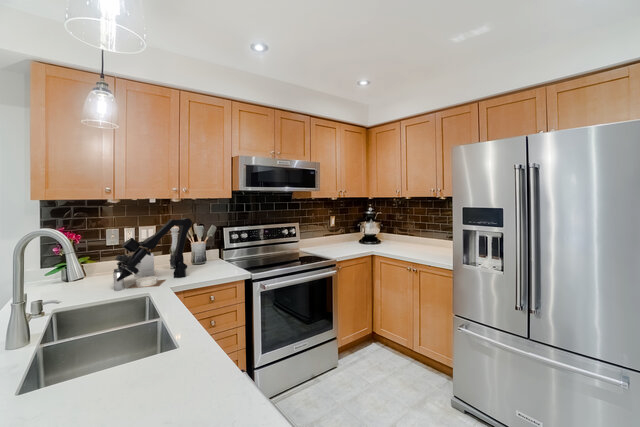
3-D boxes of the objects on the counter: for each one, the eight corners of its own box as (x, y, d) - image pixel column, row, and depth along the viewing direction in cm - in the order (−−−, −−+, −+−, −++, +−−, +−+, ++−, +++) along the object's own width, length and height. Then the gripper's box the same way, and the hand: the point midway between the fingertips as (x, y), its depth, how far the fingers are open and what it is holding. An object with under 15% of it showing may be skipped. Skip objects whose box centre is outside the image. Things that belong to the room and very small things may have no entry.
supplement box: (147, 273, 204) (146, 252, 203) (154, 275, 199) (154, 253, 199) (133, 276, 196) (132, 254, 195) (141, 278, 191) (140, 255, 191)
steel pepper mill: (125, 289, 166) (124, 267, 165) (121, 292, 161) (120, 269, 161) (116, 290, 165) (115, 268, 164) (112, 292, 160) (111, 270, 160)
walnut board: (166, 280, 184) (166, 279, 184) (158, 287, 169) (158, 286, 169) (136, 282, 180) (136, 281, 180) (126, 289, 165) (126, 288, 165)
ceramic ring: (159, 280, 181) (159, 276, 180) (153, 285, 170) (153, 280, 170) (140, 282, 178) (140, 277, 178) (132, 287, 168) (132, 282, 167)
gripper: (119, 247, 171) (97, 269, 163) (131, 250, 159) (108, 274, 151) (135, 258, 178) (115, 280, 170) (147, 262, 166) (126, 285, 158)
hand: (115, 280), depth 162 cm, fingers closed on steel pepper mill, 5 cm apart
